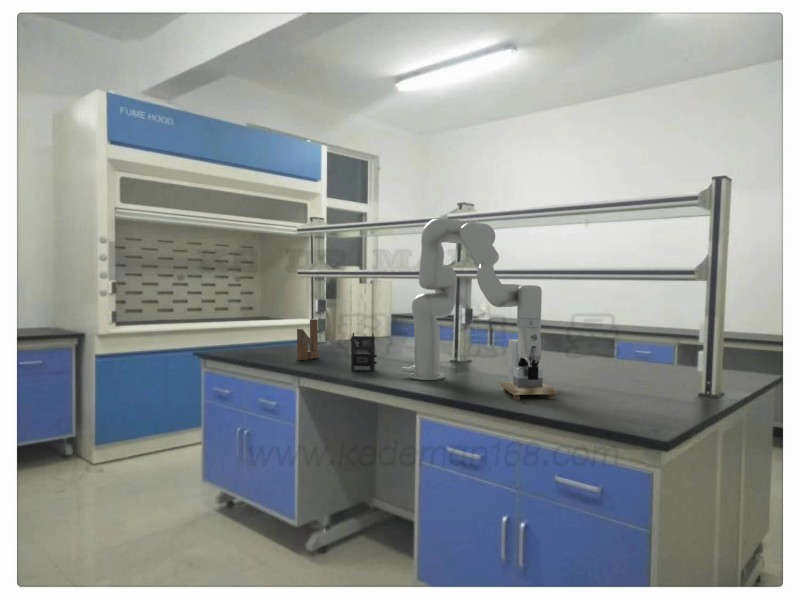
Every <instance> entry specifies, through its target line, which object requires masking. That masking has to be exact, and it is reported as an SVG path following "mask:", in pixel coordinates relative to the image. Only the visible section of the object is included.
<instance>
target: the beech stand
mask: <svg viewBox="0 0 800 600" xmlns="http://www.w3.org/2000/svg"><path fill="white" fill-rule="evenodd" d="M500 386H501V387H502V391H503V392H504V393H510V394H512V395H513V397H512V399H513V400H514V401H520V399H521V395H522V396H523V395H546V396H547V397H546V399H548V400H555V395H558V389H556V388H554V387H552V386H551V385H548V384H547V383H545V382H543V381H542V387H531V388H518V387H516V386H515V385H513V382H508V381H501V382H500Z"/></svg>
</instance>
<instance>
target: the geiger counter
mask: <svg viewBox="0 0 800 600" xmlns="http://www.w3.org/2000/svg"><path fill="white" fill-rule="evenodd" d="M374 335H375V334H374V332H372V335H371V336H370V335H369V336H368V335H367V336H366V335H362V336H361V335H355V332H352V336H351V338H350V344H351V345H350V347H351V348H350V351H351V354H350V355H351V357H350V360H351V361H350V363H351V366H350V371H351V370H352V372H374V371H375V370H376V367H375V366H376V364H377V361H376V358H377V354H376V348H375V347H376V345H375V344H376V337H375V336H374Z"/></svg>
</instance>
